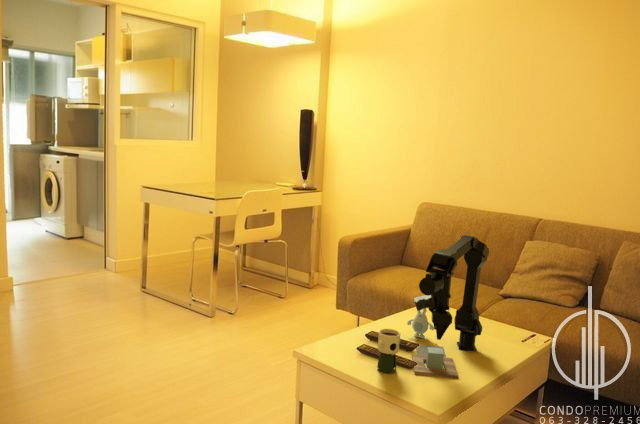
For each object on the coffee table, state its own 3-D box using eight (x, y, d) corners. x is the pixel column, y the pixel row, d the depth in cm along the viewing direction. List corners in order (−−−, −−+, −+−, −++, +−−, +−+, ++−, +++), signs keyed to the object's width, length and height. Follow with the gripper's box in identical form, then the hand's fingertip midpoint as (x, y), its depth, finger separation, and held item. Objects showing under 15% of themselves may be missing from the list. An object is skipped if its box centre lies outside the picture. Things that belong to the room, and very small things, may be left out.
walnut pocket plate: (411, 356, 191) (412, 354, 191) (452, 360, 189) (452, 358, 189) (414, 373, 177) (414, 371, 177) (457, 378, 176) (458, 375, 176)
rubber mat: (415, 345, 201) (415, 344, 201) (442, 348, 200) (443, 346, 200) (417, 356, 192) (417, 354, 192) (446, 359, 191) (446, 357, 191)
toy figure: (403, 336, 210) (406, 306, 208) (408, 331, 215) (411, 302, 213) (430, 342, 205) (433, 312, 203) (434, 337, 210) (437, 307, 209)
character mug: (386, 378, 173) (389, 339, 171) (368, 371, 177) (370, 333, 175) (404, 368, 181) (407, 331, 179) (386, 361, 185) (389, 325, 183)
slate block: (425, 363, 186) (427, 346, 185) (440, 365, 185) (442, 348, 185) (427, 369, 181) (428, 352, 180) (442, 371, 181) (443, 354, 180)
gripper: (414, 279, 189) (411, 322, 192) (418, 295, 171) (414, 342, 173) (447, 282, 188) (443, 325, 190) (454, 298, 170) (450, 346, 172)
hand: (437, 334), depth 182 cm, fingers open, 9 cm apart
